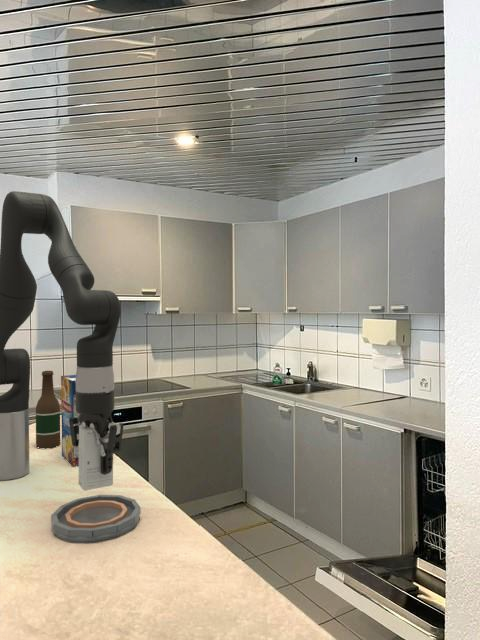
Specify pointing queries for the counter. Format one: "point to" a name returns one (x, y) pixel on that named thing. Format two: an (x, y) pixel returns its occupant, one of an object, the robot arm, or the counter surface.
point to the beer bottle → (47, 415)
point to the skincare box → (91, 462)
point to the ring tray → (95, 518)
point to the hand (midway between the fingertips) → (95, 470)
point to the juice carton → (68, 412)
